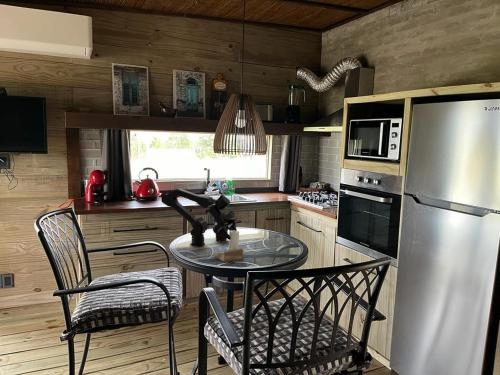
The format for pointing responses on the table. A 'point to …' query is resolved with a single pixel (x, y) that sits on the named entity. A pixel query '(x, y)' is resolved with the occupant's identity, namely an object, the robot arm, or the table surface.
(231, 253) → the holder
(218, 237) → the coffee mug
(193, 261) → the table surface
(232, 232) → the paper roll
